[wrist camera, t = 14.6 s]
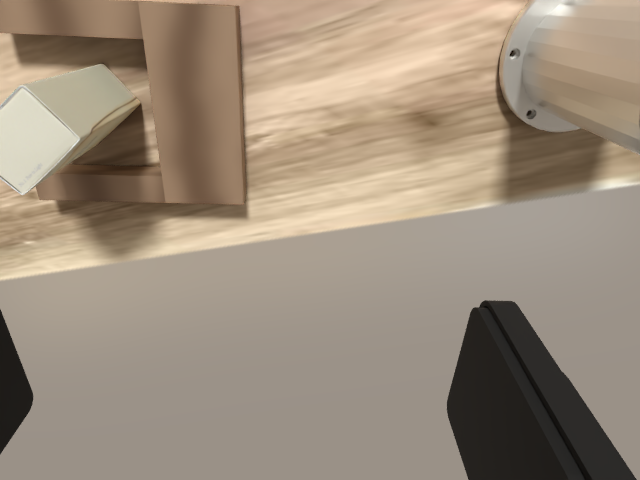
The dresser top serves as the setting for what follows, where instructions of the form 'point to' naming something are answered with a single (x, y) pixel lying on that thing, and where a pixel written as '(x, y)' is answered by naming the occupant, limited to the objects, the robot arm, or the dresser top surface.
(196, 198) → the notched board
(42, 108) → the skincare box
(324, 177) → the dresser top surface
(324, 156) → the dresser top surface
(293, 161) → the dresser top surface
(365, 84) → the dresser top surface
